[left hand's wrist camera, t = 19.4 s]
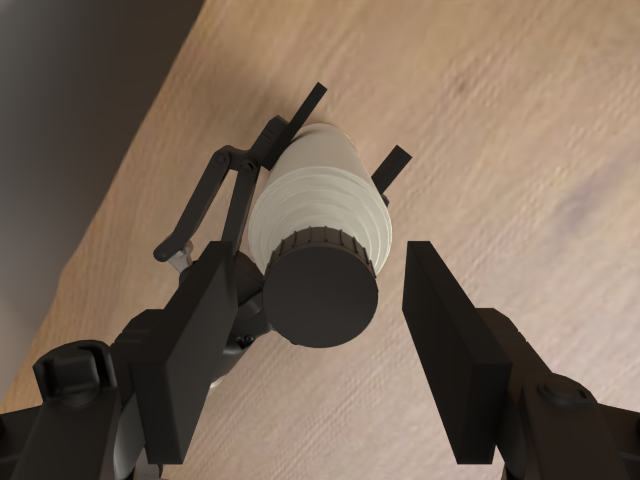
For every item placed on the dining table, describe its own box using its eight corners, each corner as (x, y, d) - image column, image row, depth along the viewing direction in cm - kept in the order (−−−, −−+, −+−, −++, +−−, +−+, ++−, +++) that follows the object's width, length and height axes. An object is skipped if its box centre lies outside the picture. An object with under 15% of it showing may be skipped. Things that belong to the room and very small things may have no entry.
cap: (372, 318, 15) (379, 347, 14) (270, 321, 15) (265, 351, 14) (373, 222, 14) (381, 242, 12) (262, 226, 14) (254, 246, 12)
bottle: (350, 116, 34) (405, 179, 12) (361, 189, 36) (424, 353, 14) (275, 130, 35) (199, 216, 13) (291, 202, 37) (250, 380, 15)
